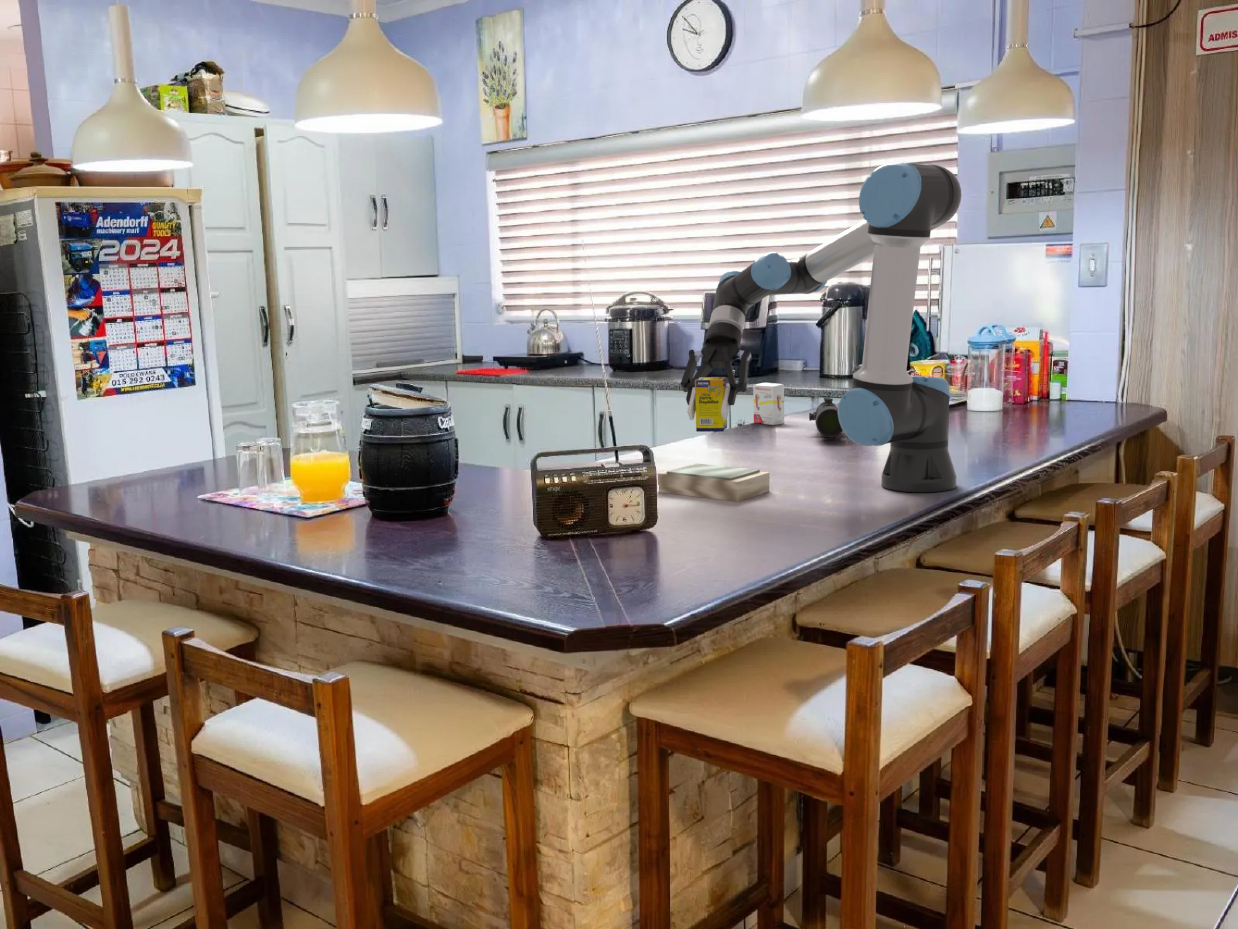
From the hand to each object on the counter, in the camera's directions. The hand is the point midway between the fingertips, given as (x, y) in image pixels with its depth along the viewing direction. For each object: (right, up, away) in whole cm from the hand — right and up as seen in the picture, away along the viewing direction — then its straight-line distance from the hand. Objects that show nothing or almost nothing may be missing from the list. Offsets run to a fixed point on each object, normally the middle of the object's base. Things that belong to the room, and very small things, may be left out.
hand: (707, 415), depth 231 cm
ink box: (+27, +2, +104) cm, 107 cm away
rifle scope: (+40, -2, +77) cm, 87 cm away
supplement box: (+1, -3, +4) cm, 5 cm away
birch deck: (+2, -16, +4) cm, 16 cm away
